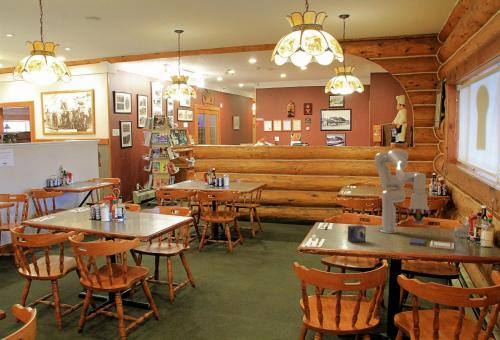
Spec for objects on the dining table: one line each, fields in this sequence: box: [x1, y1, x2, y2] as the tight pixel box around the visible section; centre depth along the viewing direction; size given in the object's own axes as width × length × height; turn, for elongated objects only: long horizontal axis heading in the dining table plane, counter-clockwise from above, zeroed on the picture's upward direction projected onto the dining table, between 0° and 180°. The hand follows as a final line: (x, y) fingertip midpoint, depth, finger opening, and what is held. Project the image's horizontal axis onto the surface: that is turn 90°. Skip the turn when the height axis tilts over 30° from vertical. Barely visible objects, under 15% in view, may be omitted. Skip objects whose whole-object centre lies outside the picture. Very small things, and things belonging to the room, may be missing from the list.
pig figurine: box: [454, 221, 470, 239], centre depth 299 cm, size 5×13×11 cm, turn 97°
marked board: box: [429, 240, 455, 250], centre depth 277 cm, size 14×14×1 cm
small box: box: [347, 224, 367, 244], centre depth 287 cm, size 11×6×10 cm, turn 101°
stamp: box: [412, 209, 424, 226], centre depth 282 cm, size 6×6×12 cm
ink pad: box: [409, 238, 426, 247], centre depth 283 cm, size 9×12×2 cm
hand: (418, 218), depth 282 cm, fingers closed on stamp, 3 cm apart
